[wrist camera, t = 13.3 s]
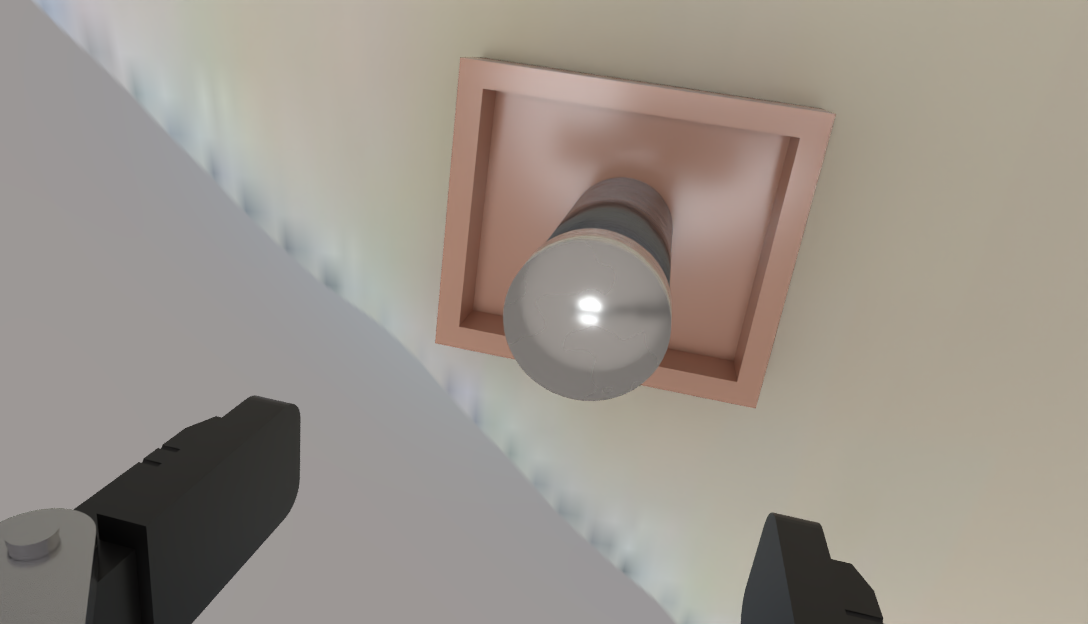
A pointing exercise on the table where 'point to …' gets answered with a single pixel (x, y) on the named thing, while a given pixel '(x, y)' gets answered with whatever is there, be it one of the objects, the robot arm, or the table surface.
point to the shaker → (596, 295)
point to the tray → (656, 159)
